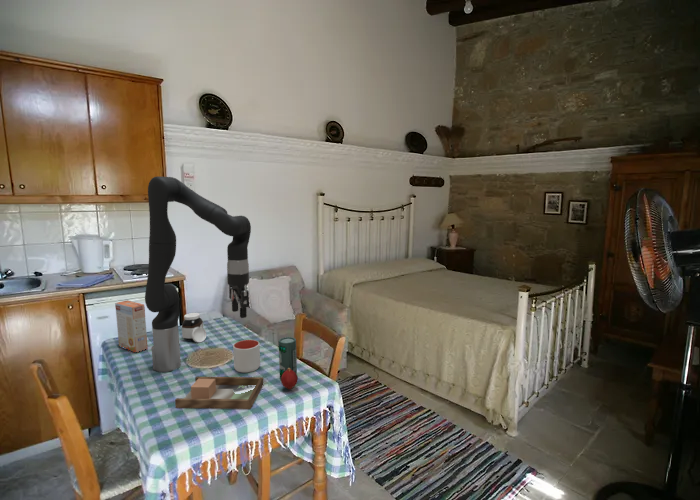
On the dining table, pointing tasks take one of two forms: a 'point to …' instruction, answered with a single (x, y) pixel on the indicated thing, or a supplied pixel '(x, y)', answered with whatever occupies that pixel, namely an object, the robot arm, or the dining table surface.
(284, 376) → the red oval fruit
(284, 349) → the can
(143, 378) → the dining table surface
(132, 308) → the cracker box
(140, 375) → the dining table surface
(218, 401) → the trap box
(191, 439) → the dining table surface
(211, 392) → the block
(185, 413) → the dining table surface
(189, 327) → the spread jar
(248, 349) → the cup
